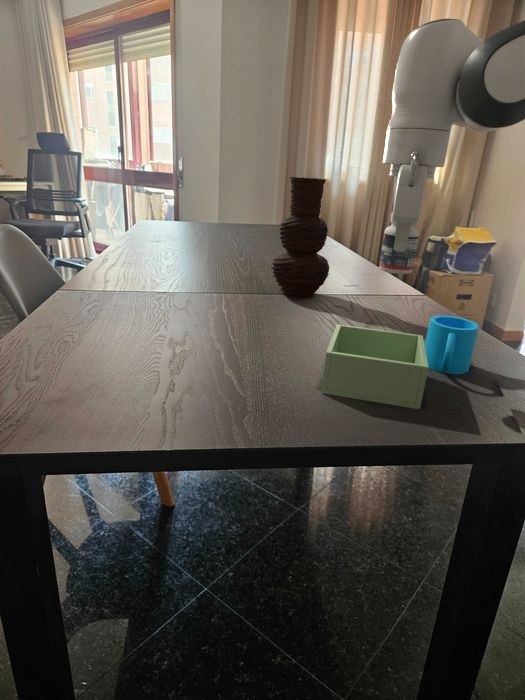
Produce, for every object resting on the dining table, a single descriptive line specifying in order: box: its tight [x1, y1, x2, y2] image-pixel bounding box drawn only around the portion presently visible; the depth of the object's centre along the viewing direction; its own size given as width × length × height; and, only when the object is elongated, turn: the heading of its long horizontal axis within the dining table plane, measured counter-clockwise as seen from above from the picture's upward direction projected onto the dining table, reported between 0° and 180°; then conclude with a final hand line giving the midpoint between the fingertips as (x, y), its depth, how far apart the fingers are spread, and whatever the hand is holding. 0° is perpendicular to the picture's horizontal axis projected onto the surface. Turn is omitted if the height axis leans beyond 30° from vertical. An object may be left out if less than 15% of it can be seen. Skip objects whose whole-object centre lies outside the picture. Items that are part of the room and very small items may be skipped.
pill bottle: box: [378, 212, 420, 275], centre depth 74 cm, size 5×5×9 cm
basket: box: [321, 323, 429, 410], centre depth 76 cm, size 15×15×7 cm
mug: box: [424, 315, 480, 375], centre depth 83 cm, size 12×8×8 cm
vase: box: [270, 176, 330, 300], centre depth 122 cm, size 15×15×30 cm
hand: (399, 248), depth 74 cm, fingers closed on pill bottle, 5 cm apart
